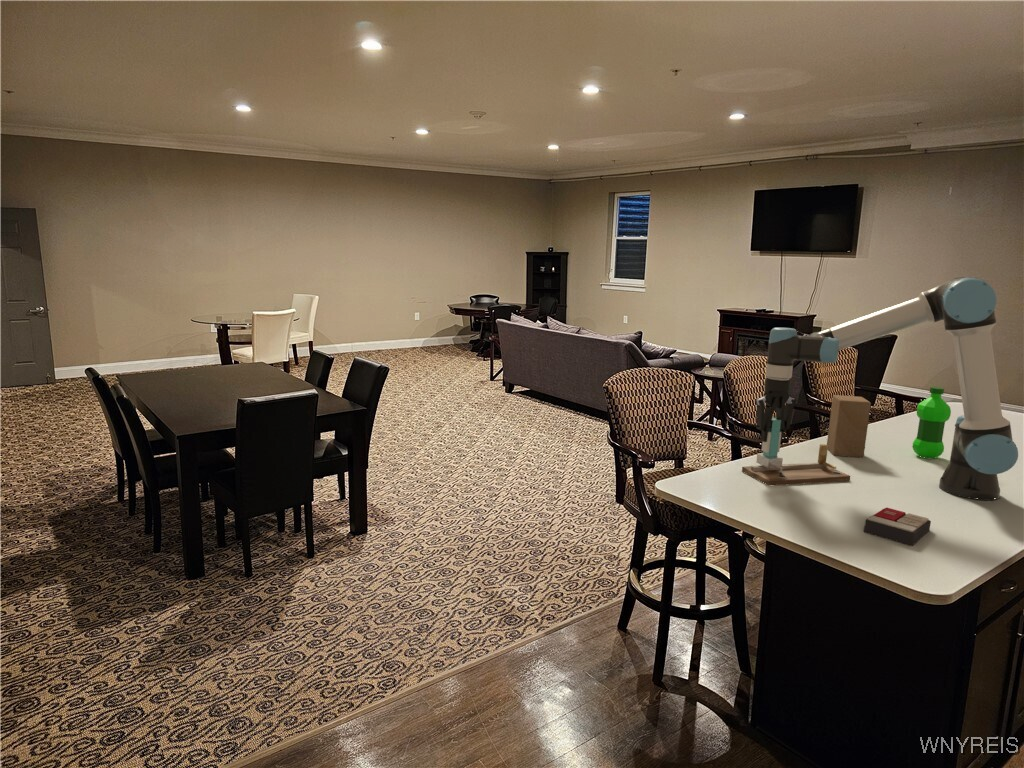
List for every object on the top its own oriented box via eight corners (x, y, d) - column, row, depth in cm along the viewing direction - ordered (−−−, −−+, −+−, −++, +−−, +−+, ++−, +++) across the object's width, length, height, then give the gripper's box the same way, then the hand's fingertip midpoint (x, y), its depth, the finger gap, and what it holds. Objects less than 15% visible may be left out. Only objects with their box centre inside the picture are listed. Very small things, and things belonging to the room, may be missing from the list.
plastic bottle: (950, 459, 234) (961, 390, 229) (929, 462, 230) (940, 391, 225) (923, 451, 243) (934, 384, 238) (903, 454, 239) (913, 385, 234)
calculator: (932, 517, 169) (914, 530, 158) (929, 533, 170) (911, 547, 159) (884, 505, 177) (865, 516, 166) (882, 521, 177) (862, 533, 167)
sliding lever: (788, 474, 205) (794, 423, 202) (774, 475, 204) (780, 424, 201) (769, 465, 214) (774, 416, 211) (755, 465, 213) (761, 416, 210)
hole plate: (849, 480, 207) (853, 453, 205) (769, 485, 200) (772, 457, 198) (818, 466, 220) (821, 441, 219) (741, 471, 213) (744, 445, 211)
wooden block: (863, 458, 232) (871, 402, 229) (833, 455, 234) (840, 400, 231) (855, 450, 242) (862, 396, 238) (825, 448, 244) (832, 394, 240)
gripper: (792, 375, 211) (784, 446, 215) (748, 376, 207) (741, 449, 211) (808, 379, 204) (800, 453, 208) (762, 380, 199) (755, 455, 204)
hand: (770, 451), depth 209 cm, fingers closed on sliding lever, 3 cm apart
